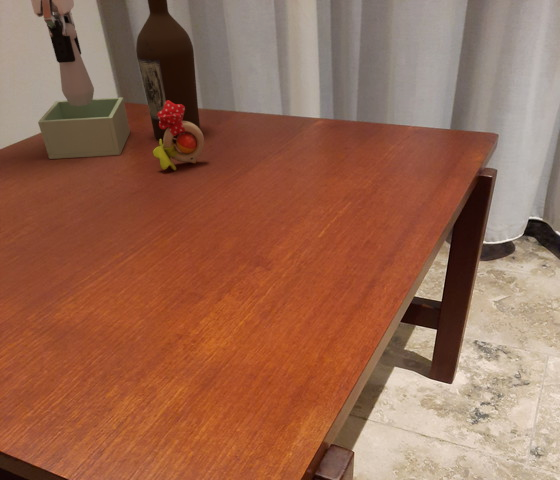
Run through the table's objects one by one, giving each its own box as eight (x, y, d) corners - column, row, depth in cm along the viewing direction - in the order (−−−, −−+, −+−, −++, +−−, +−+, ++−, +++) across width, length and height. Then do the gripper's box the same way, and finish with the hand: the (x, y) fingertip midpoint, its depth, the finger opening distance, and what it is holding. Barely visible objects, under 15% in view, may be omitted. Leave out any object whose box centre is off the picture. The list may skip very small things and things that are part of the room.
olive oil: (183, 123, 120) (163, -18, 103) (213, 134, 114) (197, -14, 97) (141, 135, 114) (113, -10, 98) (171, 147, 108) (146, -6, 92)
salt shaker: (102, 99, 107) (84, 20, 99) (87, 107, 103) (66, 27, 95) (75, 98, 109) (55, 20, 100) (59, 106, 105) (37, 26, 96)
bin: (49, 159, 106) (37, 121, 101) (65, 135, 116) (55, 101, 112) (120, 155, 106) (112, 117, 102) (130, 132, 117) (123, 97, 112)
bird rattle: (191, 168, 105) (144, 155, 101) (208, 108, 99) (158, 92, 95) (197, 180, 101) (148, 167, 97) (215, 118, 95) (163, 102, 91)
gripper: (28, -71, 95) (60, 50, 107) (-4, -65, 83) (36, 71, 95) (72, -73, 96) (98, 48, 108) (47, -68, 83) (80, 68, 95)
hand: (69, 57), depth 101 cm, fingers closed on salt shaker, 4 cm apart
